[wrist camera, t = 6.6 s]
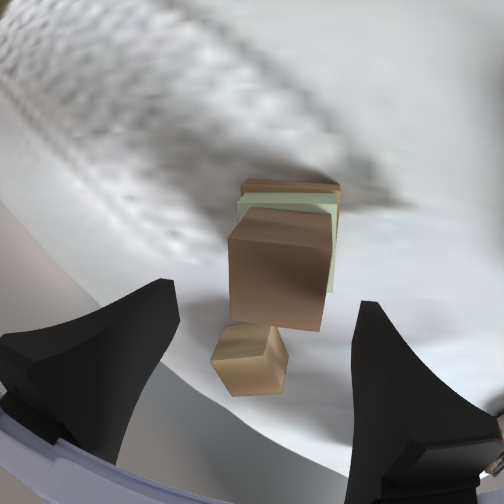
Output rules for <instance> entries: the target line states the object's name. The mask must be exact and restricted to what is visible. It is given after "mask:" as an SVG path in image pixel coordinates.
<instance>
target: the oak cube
mask: <svg viewBox="0 0 504 504" xmlns="http://www.w3.org/2000/svg"><path fill="white" fill-rule="evenodd" d="M288 358H289V356H288V354H287V351H286V349H285V346H284V344H283V341H282V339H281V337H280V334H279V332H278V329H277V327H275V326H268V325H261V324H254V323H245V324H239V325H232V326H225V328H224V330H223V333H222V335H221V337H220V339H219V342H218V344H217V346H216V348H215V350H214V353H213V355H212V357H211V359H210V362H211V364H212V366H213V367H214V369H215V370H216V372H217V374H218V375H219V377H220V379H221V380H222V382H223V383H224V385H225V387H226V388H227V390H228V391H229V393H230V394H231V396H252V395H267V394H279V393H282V389H283V384H284V379H285V373H286V368H287V363H288Z"/></svg>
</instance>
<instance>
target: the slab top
mask: <svg viewBox="0 0 504 504" xmlns="http://www.w3.org/2000/svg"><path fill="white" fill-rule="evenodd" d="M236 207H237V218H238V224H239V222H240V221H241V220H242V218H243V217H244V215H245V214H246V213H247V211H248V210H249V209H250V207H261V208H273V209H283V210H294V211H304V212H314V213H323V214H331V216H332V241H333V251H332V258H331V265H330V272H329V278H328V285H327V291H326V292H332V293H333V281H334V266H335V248H336V224H337V199H336V193H289V192H250V193H245V194H244V195H243V196H242V197H241V198H240V199H239V200H238V201H237V203H236Z"/></svg>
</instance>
